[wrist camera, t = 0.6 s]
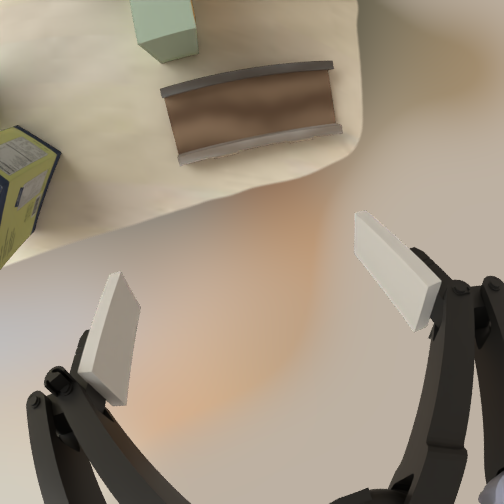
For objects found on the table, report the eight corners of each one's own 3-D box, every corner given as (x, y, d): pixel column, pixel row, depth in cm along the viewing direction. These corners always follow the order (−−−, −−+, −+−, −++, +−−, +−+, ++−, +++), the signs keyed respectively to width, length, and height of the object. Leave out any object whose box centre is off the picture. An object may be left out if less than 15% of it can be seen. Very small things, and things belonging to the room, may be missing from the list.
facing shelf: (163, 89, 31) (159, 89, 28) (323, 62, 32) (332, 60, 29) (182, 163, 36) (180, 168, 34) (333, 132, 37) (342, 135, 35)
